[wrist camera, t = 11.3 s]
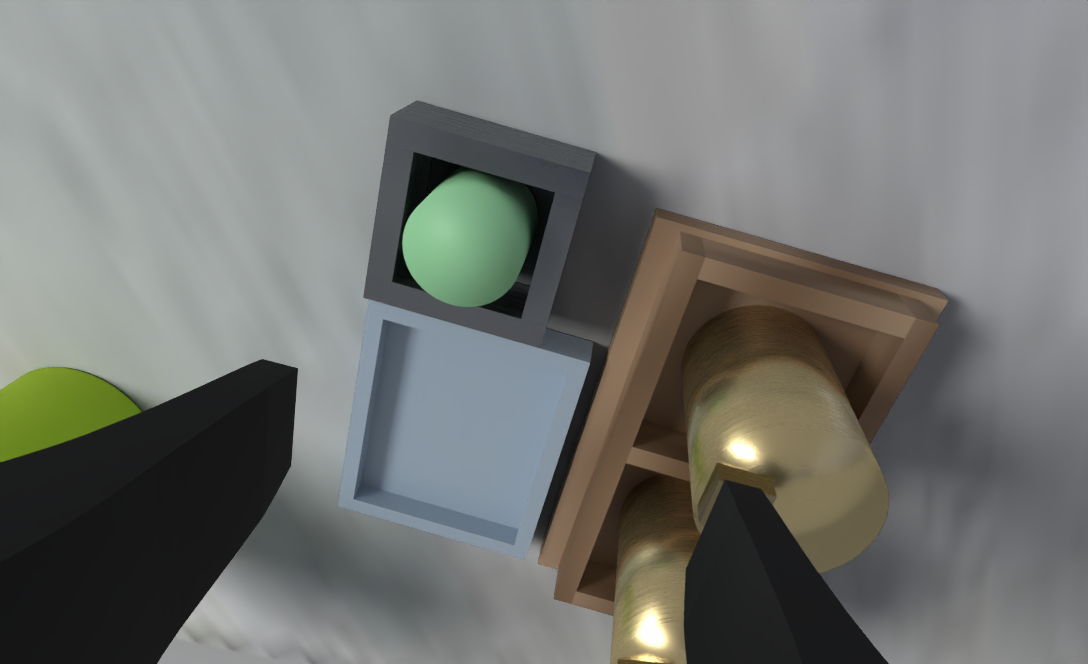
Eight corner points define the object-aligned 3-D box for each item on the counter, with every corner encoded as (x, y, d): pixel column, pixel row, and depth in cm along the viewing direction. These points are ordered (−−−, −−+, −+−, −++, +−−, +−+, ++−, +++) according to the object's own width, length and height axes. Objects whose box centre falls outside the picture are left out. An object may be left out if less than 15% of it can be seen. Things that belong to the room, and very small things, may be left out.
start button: (549, 180, 19) (535, 211, 17) (523, 279, 21) (507, 320, 18) (442, 149, 19) (413, 176, 17) (424, 250, 21) (393, 288, 18)
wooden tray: (937, 288, 20) (970, 325, 18) (756, 608, 26) (765, 664, 24) (656, 208, 20) (657, 235, 18) (540, 547, 26) (531, 597, 24)
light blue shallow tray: (593, 341, 22) (590, 362, 21) (530, 533, 25) (525, 560, 24) (383, 281, 22) (368, 299, 21) (351, 481, 25) (337, 506, 24)
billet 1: (751, 474, 22) (785, 653, 16) (740, 572, 24) (767, 765, 18) (620, 467, 23) (608, 637, 17) (619, 563, 25) (608, 747, 19)
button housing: (596, 152, 19) (590, 173, 17) (549, 314, 22) (540, 348, 20) (416, 100, 19) (390, 115, 17) (389, 268, 22) (363, 297, 20)
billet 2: (850, 328, 20) (935, 479, 14) (791, 442, 22) (845, 619, 16) (709, 288, 20) (735, 422, 14) (662, 405, 22) (668, 568, 16)
